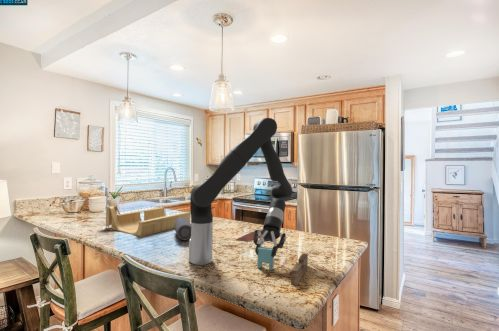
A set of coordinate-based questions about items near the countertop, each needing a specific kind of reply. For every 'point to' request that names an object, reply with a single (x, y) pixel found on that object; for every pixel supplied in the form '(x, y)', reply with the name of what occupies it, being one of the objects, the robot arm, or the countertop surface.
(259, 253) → the teal notched bridge block
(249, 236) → the wooden tablet
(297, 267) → the walnut slotted plate
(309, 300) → the countertop surface
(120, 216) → the skate ramp
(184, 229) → the bluetooth speaker
